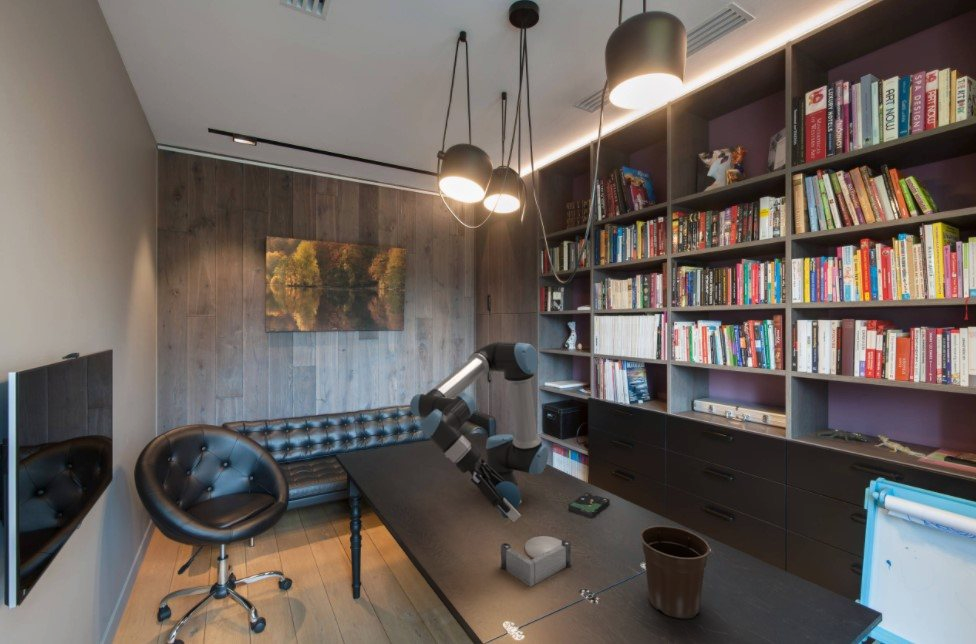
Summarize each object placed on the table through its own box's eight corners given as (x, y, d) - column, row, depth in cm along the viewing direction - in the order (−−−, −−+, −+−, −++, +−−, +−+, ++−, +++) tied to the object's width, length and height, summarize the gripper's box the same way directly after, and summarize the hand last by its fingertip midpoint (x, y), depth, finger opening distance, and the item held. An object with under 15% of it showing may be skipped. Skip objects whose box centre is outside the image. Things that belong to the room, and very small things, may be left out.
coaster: (544, 535, 142) (544, 532, 142) (575, 551, 132) (575, 548, 132) (516, 548, 134) (516, 545, 134) (546, 566, 124) (546, 563, 124)
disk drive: (585, 499, 172) (567, 511, 161) (585, 492, 172) (567, 504, 161) (610, 506, 166) (593, 519, 154) (610, 499, 166) (593, 511, 154)
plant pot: (689, 582, 117) (689, 524, 116) (723, 625, 100) (724, 557, 100) (631, 584, 116) (630, 525, 116) (656, 627, 100) (656, 559, 100)
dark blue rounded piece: (496, 532, 118) (496, 489, 118) (488, 518, 126) (488, 478, 126) (524, 528, 120) (524, 486, 120) (515, 515, 129) (515, 475, 128)
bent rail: (541, 546, 135) (541, 526, 135) (573, 564, 125) (573, 543, 125) (498, 567, 124) (498, 545, 124) (530, 588, 114) (530, 565, 114)
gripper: (460, 452, 135) (510, 504, 134) (447, 476, 114) (506, 538, 113) (476, 435, 135) (527, 488, 133) (466, 457, 114) (526, 519, 112)
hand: (517, 511), depth 123 cm, fingers closed on dark blue rounded piece, 8 cm apart
